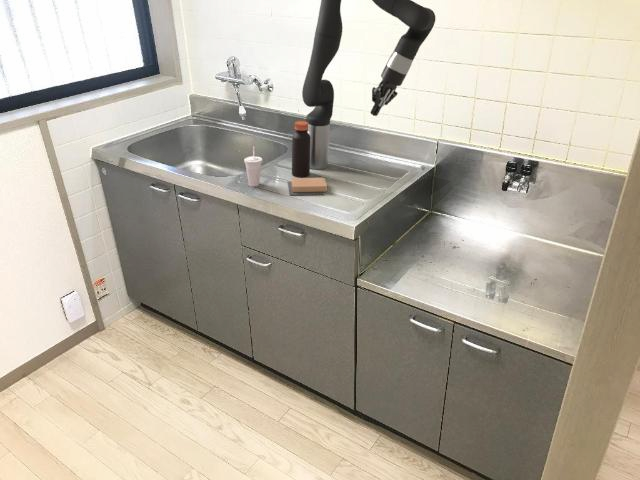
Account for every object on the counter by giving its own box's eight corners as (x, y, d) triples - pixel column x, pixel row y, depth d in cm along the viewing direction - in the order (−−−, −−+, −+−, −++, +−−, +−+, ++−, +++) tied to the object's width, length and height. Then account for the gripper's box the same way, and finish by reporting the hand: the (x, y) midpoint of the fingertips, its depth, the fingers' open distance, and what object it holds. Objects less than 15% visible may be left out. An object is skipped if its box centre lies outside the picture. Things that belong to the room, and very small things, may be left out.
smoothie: (265, 182, 195) (265, 145, 189) (258, 189, 190) (257, 151, 183) (249, 180, 197) (248, 143, 191) (242, 186, 192) (240, 148, 185)
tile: (323, 177, 195) (291, 178, 193) (327, 186, 188) (293, 186, 186) (323, 183, 196) (291, 183, 194) (326, 192, 189) (292, 192, 187)
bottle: (302, 179, 200) (304, 126, 191) (288, 174, 203) (288, 123, 194) (312, 173, 205) (314, 122, 196) (298, 169, 208) (299, 119, 199)
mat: (319, 182, 198) (319, 181, 198) (324, 195, 187) (324, 194, 187) (287, 182, 196) (287, 181, 196) (290, 195, 186) (290, 194, 186)
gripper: (399, 64, 182) (376, 109, 191) (378, 60, 172) (354, 108, 181) (415, 75, 179) (391, 120, 187) (394, 71, 169) (370, 120, 177)
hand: (373, 114), depth 184 cm, fingers closed
